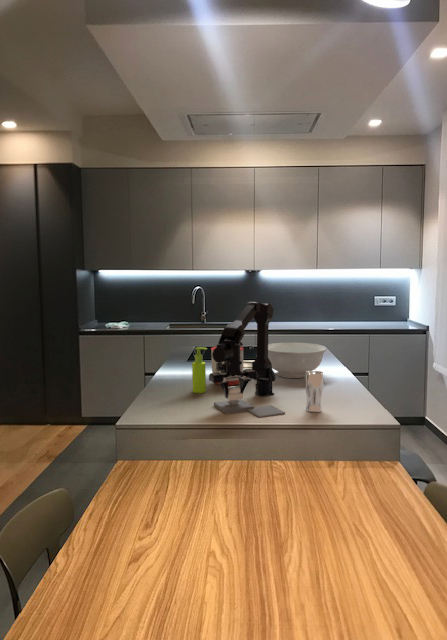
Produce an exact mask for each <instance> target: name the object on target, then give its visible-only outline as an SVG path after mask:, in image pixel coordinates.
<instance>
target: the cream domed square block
mask: <svg viewBox="0 0 447 640" xmlns="http://www.w3.org/2000/svg"><path fill="white" fill-rule="evenodd" d="M223 398H225V399H227V401H229V400H237V399H242V400H244V393H243V394H242V393H241V388H240V387H239V386H234V385H232V386H228V398H226V397H225V394H224V393H223Z"/></svg>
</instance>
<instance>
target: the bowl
mask: <svg viewBox="0 0 447 640" xmlns="http://www.w3.org/2000/svg"><path fill="white" fill-rule="evenodd" d="M326 350H327V347H325V346H324V345H321V344H317V343H308V342H276V343H268V358H269V360H270V362H271V363H272V370H273V371H277V375H278V376H280V377H283V378H290V379H301V378H305V375H306V372H307V371H316V369H317V368H319V367H320V366H321V363H322V361H323V356H324V353H325V352H326Z"/></svg>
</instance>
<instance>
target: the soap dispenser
mask: <svg viewBox="0 0 447 640" xmlns="http://www.w3.org/2000/svg"><path fill="white" fill-rule="evenodd" d="M194 350H196V354H194V361H193V362H192V363H191V369H192V370H191V371H192V372H191V373H192V378H191V379H192V393H194V394H203V393H206V391H207V390H206V389H207V386H206V383H207V380H206V378H207V377H206V375H207V373H206V362H205V361H203V354H201V350H204V351H207V350H208V348H207V347H203V346H201V347H200V346H199V347H195V348H194Z"/></svg>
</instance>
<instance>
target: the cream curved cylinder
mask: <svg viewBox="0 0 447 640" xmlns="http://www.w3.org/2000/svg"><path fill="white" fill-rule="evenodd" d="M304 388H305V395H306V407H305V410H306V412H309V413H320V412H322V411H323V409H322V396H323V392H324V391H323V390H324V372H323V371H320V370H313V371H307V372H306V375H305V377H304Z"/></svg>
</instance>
